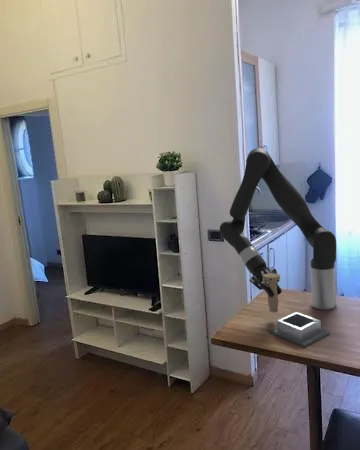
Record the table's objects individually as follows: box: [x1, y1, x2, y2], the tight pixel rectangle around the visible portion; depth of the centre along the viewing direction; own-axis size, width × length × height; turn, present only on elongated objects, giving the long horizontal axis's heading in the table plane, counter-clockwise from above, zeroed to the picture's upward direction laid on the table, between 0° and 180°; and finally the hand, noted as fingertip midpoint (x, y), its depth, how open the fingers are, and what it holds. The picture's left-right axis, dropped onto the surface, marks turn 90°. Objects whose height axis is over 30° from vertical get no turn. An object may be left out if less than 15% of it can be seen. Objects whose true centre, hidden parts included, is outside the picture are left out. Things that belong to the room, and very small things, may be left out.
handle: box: [263, 273, 281, 314], centre depth 153 cm, size 5×6×15 cm
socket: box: [268, 311, 331, 348], centre depth 142 cm, size 14×16×5 cm
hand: (276, 294), depth 152 cm, fingers closed on handle, 3 cm apart
